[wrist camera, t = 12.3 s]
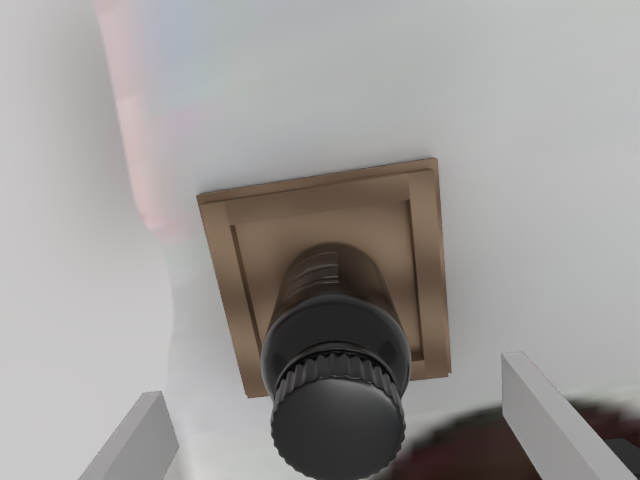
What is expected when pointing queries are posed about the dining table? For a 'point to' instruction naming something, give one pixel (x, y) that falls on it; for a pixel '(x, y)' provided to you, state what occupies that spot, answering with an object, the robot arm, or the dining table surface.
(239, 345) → the walnut tray
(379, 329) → the supplement bottle
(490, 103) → the dining table surface
